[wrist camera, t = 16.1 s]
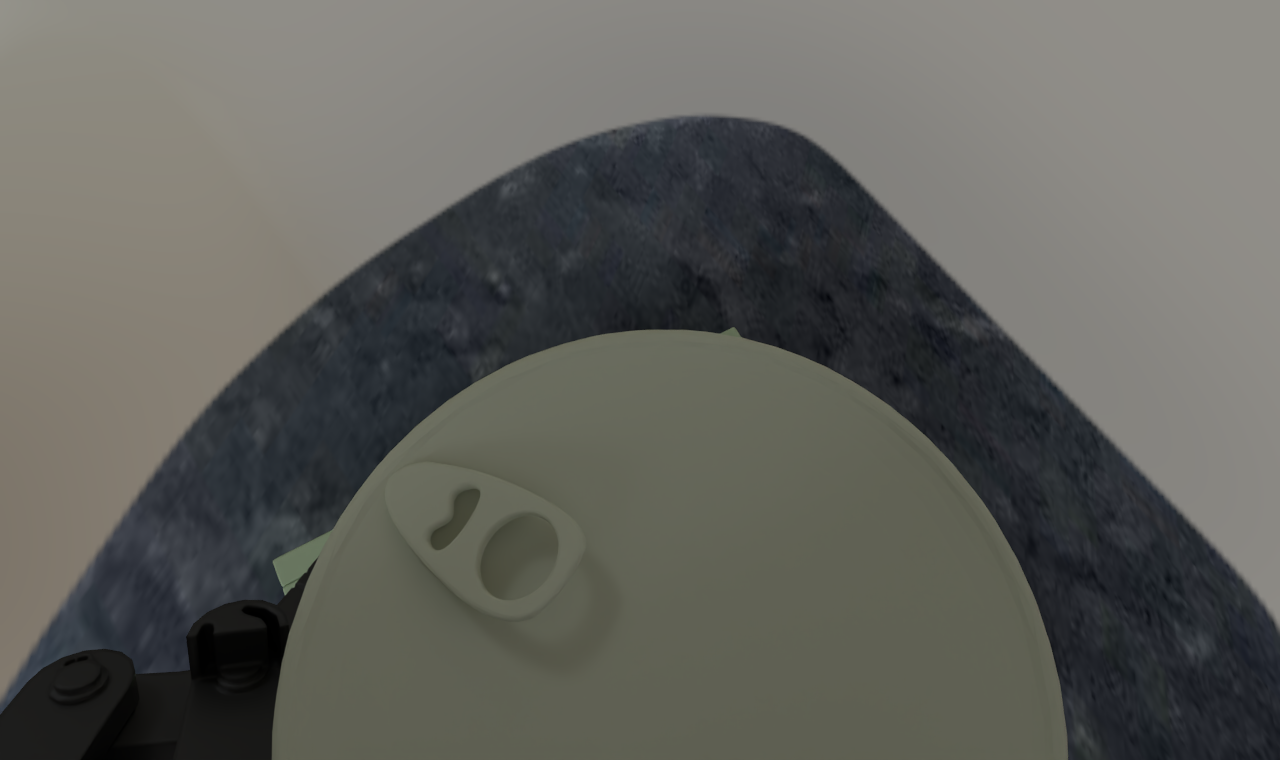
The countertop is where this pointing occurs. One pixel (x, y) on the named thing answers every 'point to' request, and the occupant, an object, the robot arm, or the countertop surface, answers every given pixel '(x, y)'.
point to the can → (667, 577)
